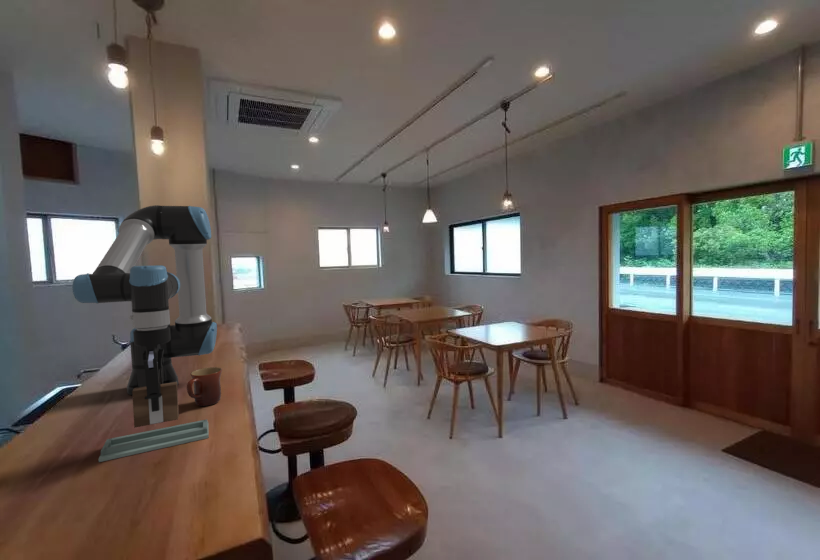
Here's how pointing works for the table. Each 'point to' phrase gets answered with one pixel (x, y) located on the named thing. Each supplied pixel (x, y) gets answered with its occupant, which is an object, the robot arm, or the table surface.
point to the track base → (154, 440)
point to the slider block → (142, 404)
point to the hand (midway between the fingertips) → (157, 419)
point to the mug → (205, 386)
